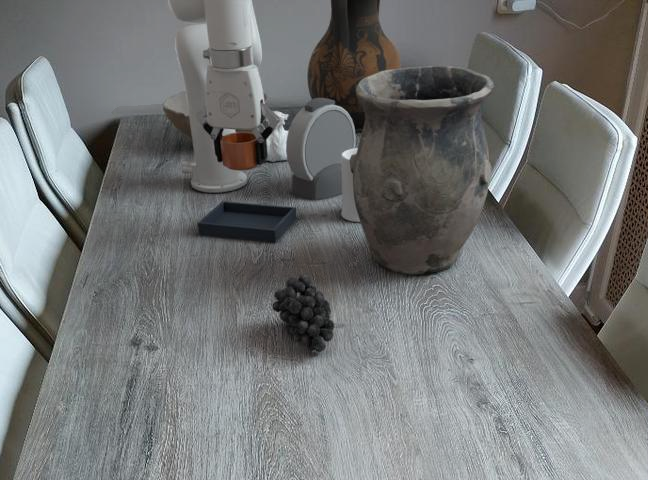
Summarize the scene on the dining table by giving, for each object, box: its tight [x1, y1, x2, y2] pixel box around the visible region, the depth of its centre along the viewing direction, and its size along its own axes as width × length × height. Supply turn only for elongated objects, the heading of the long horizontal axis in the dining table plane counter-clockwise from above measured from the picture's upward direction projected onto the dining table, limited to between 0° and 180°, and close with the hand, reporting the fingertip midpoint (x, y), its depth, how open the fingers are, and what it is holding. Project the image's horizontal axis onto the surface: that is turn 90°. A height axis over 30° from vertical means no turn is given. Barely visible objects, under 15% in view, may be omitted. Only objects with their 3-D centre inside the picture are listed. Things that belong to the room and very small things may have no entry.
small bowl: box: [220, 132, 259, 171], centre depth 150 cm, size 7×7×5 cm
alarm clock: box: [286, 98, 357, 201], centre depth 169 cm, size 16×10×18 cm, turn 134°
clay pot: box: [350, 65, 495, 276], centre depth 136 cm, size 22×23×30 cm
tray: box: [197, 200, 297, 243], centre depth 159 cm, size 16×12×2 cm
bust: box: [265, 110, 289, 163], centre depth 190 cm, size 12×8×11 cm
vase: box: [306, 0, 402, 133], centre depth 201 cm, size 24×24×35 cm
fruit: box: [271, 274, 335, 353], centre depth 121 cm, size 9×8×15 cm
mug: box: [340, 147, 361, 223], centre depth 159 cm, size 12×8×12 cm
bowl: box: [162, 90, 269, 140], centre depth 201 cm, size 26×26×10 cm
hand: (241, 160), depth 151 cm, fingers closed on small bowl, 7 cm apart
